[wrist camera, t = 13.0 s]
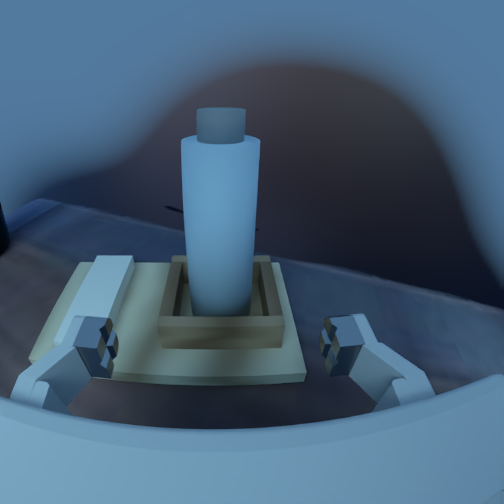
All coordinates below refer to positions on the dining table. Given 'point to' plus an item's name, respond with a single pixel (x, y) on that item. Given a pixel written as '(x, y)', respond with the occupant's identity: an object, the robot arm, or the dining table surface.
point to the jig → (193, 330)
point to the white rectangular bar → (100, 291)
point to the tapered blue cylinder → (220, 212)
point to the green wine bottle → (3, 232)
